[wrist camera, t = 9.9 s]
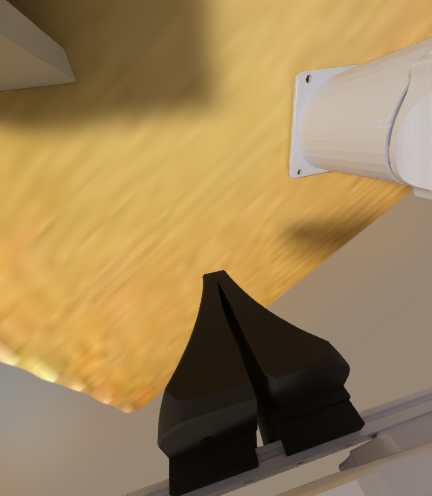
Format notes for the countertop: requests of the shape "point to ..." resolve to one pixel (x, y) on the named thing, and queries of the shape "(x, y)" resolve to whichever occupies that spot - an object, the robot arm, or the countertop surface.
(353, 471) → the robot arm
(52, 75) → the large grey box
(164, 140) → the countertop surface
